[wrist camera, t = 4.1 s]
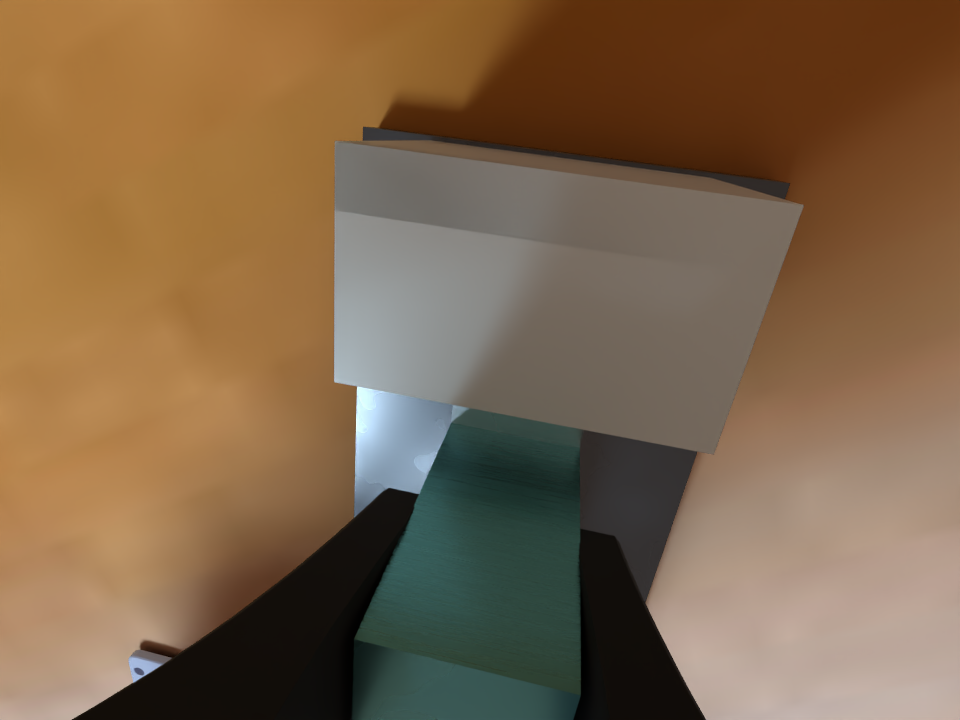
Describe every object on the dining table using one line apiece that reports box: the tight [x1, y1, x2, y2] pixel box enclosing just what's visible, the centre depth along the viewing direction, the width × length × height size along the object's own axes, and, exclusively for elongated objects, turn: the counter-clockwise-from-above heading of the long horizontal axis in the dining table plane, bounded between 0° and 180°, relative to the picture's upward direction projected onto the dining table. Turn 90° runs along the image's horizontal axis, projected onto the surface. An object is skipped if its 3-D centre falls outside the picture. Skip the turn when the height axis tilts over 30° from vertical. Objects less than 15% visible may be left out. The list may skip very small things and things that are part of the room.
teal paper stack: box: [352, 405, 584, 720], centre depth 11 cm, size 16×3×8 cm, turn 173°
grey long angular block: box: [354, 127, 790, 602], centre depth 15 cm, size 25×10×6 cm, turn 173°
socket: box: [334, 140, 804, 455], centre depth 11 cm, size 4×7×5 cm, turn 83°
